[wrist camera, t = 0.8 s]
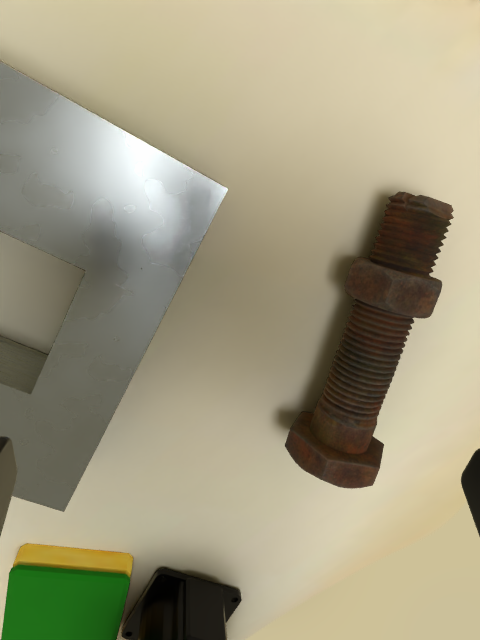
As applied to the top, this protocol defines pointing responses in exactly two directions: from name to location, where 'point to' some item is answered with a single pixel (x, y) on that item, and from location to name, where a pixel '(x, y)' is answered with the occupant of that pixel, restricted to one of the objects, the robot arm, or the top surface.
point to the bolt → (372, 343)
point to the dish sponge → (66, 594)
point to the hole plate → (87, 271)
